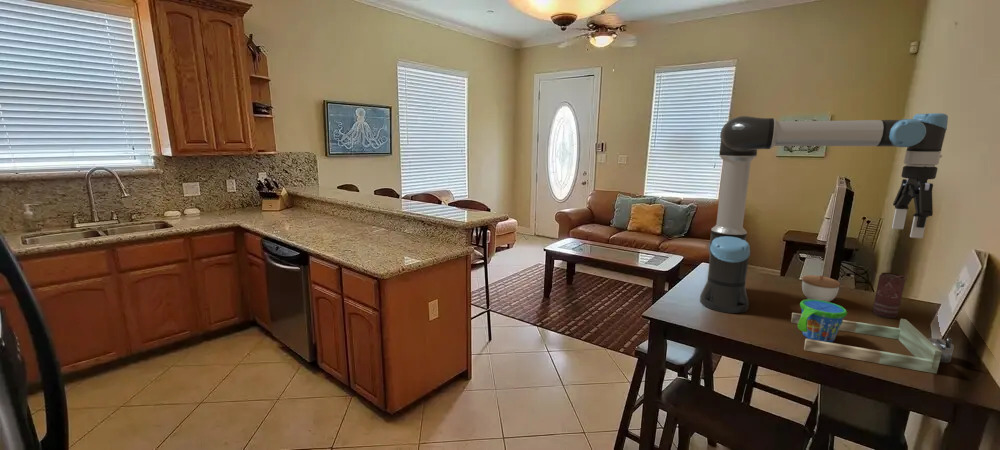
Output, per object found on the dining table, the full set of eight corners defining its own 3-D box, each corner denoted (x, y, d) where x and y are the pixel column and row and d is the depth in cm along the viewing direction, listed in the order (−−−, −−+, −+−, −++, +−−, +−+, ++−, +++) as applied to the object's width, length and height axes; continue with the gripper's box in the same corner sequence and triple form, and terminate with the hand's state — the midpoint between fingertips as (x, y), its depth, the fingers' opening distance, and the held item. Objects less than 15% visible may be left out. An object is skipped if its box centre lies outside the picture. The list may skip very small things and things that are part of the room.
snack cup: (821, 327, 129) (827, 296, 126) (857, 343, 119) (863, 310, 116) (780, 332, 125) (785, 301, 123) (813, 350, 115) (819, 316, 113)
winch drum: (931, 362, 108) (937, 337, 107) (919, 351, 114) (925, 327, 113) (957, 367, 106) (963, 341, 105) (944, 355, 112) (950, 330, 110)
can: (902, 319, 134) (911, 278, 131) (879, 318, 135) (888, 277, 132) (889, 312, 140) (897, 272, 137) (867, 310, 141) (875, 271, 138)
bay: (804, 350, 115) (808, 330, 114) (790, 321, 133) (793, 303, 132) (936, 373, 103) (941, 351, 102) (901, 338, 121) (906, 319, 120)
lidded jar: (841, 301, 148) (845, 276, 146) (829, 308, 142) (834, 282, 141) (806, 292, 157) (810, 269, 155) (794, 298, 151) (798, 274, 149)
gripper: (959, 168, 114) (942, 243, 119) (918, 163, 136) (904, 226, 141) (923, 168, 117) (908, 240, 122) (888, 162, 139) (876, 224, 144)
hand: (906, 233), depth 131 cm, fingers open, 13 cm apart
